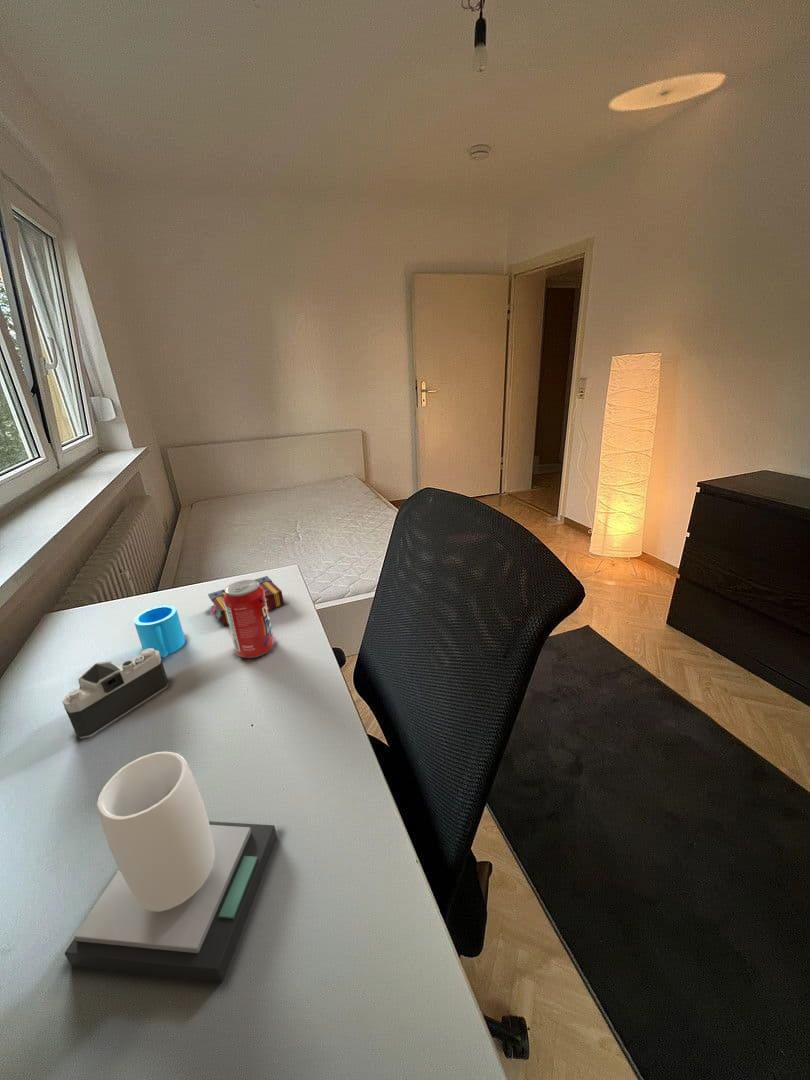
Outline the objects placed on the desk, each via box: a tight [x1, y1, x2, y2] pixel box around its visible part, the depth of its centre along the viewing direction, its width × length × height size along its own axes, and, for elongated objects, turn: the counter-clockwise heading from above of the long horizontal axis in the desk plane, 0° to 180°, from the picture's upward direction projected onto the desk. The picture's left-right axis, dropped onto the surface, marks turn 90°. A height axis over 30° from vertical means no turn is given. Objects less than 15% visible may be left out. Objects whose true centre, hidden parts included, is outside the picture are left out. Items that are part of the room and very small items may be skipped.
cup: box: [96, 751, 215, 912], centre depth 46 cm, size 8×8×14 cm
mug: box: [133, 604, 186, 658], centre depth 93 cm, size 12×8×8 cm
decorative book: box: [207, 575, 285, 627], centre depth 109 cm, size 11×16×5 cm
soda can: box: [223, 579, 275, 659], centre depth 91 cm, size 8×8×15 cm
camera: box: [61, 648, 170, 739], centre depth 78 cm, size 16×9×10 cm, turn 149°
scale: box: [64, 820, 278, 983], centre depth 49 cm, size 16×14×3 cm
